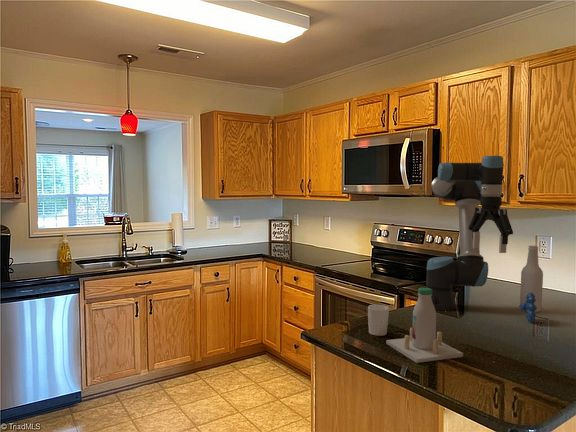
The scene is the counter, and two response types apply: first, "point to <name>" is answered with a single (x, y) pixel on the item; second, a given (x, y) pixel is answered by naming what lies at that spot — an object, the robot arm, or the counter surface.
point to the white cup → (378, 319)
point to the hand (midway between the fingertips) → (488, 250)
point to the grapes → (529, 307)
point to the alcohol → (532, 278)
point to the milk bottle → (424, 321)
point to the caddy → (423, 355)
